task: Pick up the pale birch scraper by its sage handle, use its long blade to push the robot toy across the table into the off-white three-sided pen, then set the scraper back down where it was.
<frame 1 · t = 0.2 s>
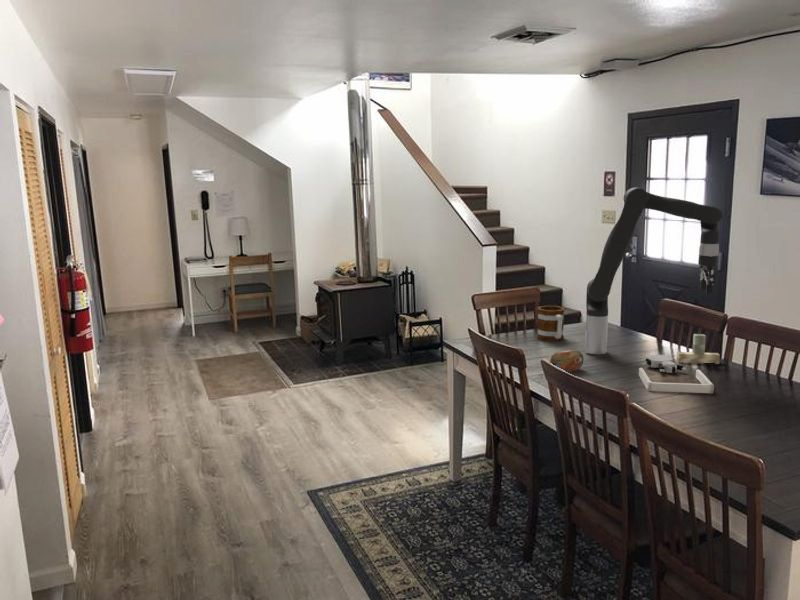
hand: (705, 291, 274), 28 cm above the table, tool pointing down, fingers open, 8 cm apart
robot toy: (663, 370, 260), on the table
scraper: (697, 362, 269), on the table
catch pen: (673, 383, 243), on the table
brown rounded piece: (566, 371, 262), on the table
mug: (552, 340, 311), on the table
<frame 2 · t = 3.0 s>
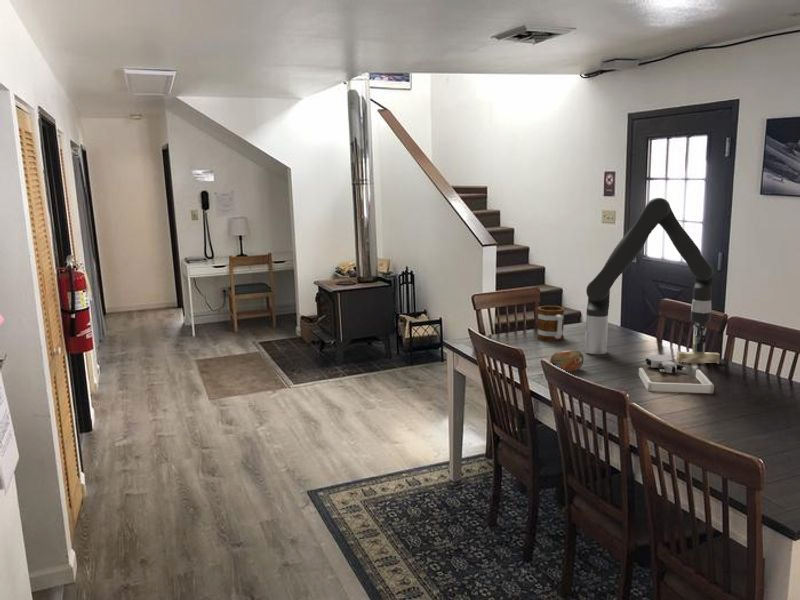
hand: (698, 350, 268), 5 cm above the table, tool pointing down, fingers closed on scraper, 3 cm apart
scraper: (697, 362, 269), on the table, touching gripper
everything else where it was.
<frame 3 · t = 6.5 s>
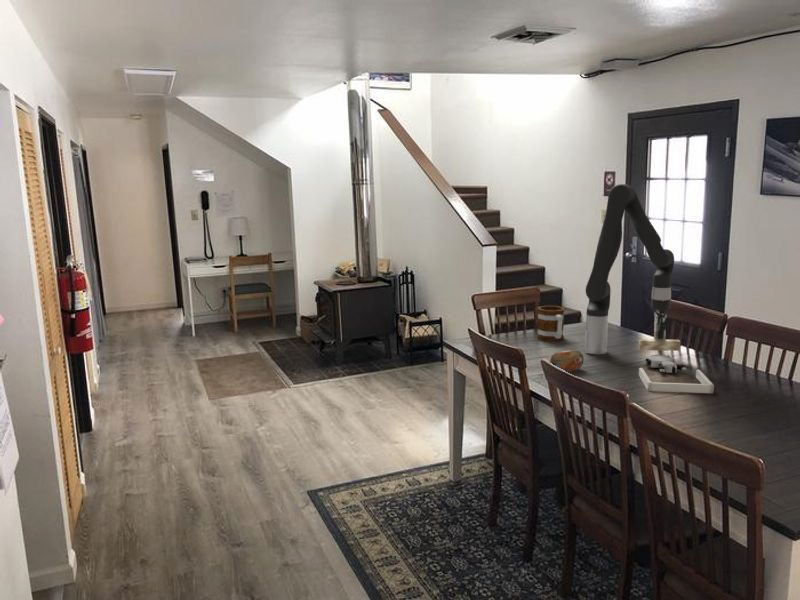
hand: (659, 337, 269), 10 cm above the table, tool pointing down, fingers closed on scraper, 3 cm apart
scraper: (659, 349, 270), point 5 cm above the table, touching gripper
everything else where it was.
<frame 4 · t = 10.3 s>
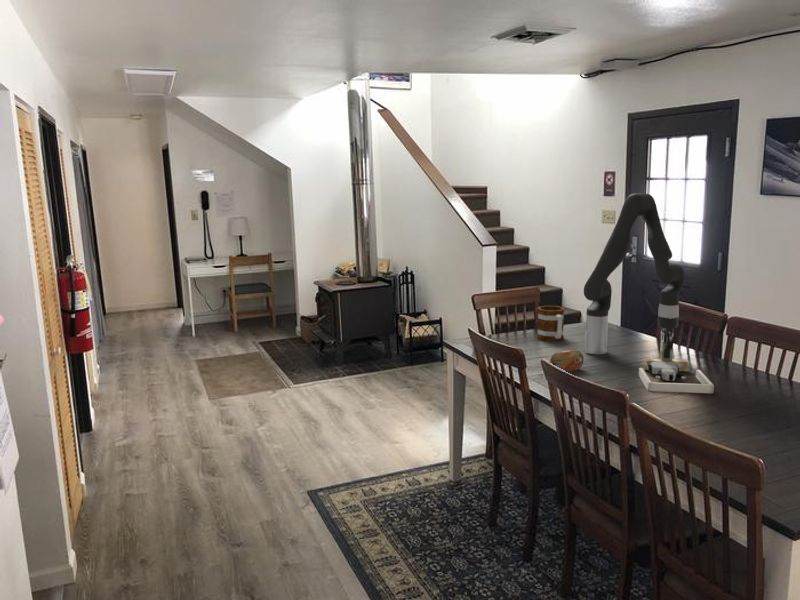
hand: (665, 356, 257), 6 cm above the table, tool pointing down, fingers closed on scraper, 3 cm apart
robot toy: (665, 377, 250), on the table
scraper: (665, 369, 259), on the table, touching gripper
everything else where it was.
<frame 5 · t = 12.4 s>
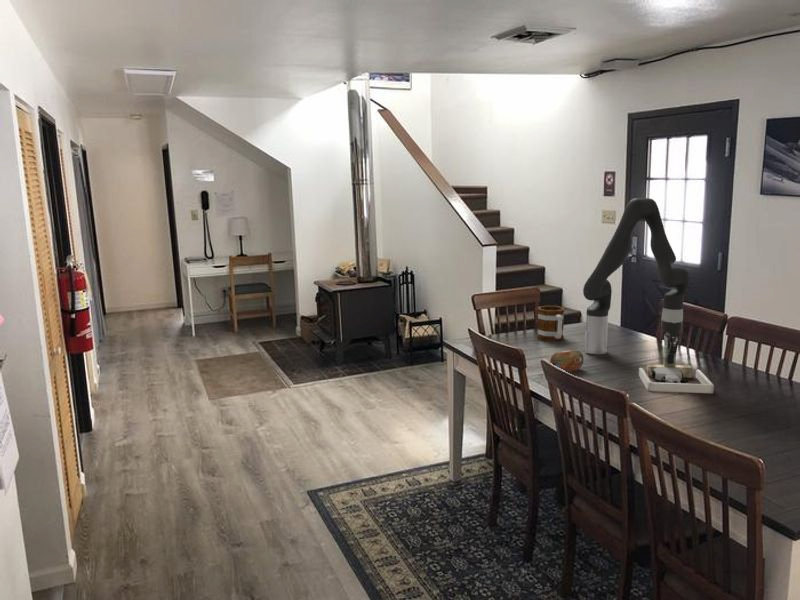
hand: (669, 361, 250), 6 cm above the table, tool pointing down, fingers closed on scraper, 3 cm apart
robot toy: (669, 384, 243), on the table
scraper: (668, 375, 252), on the table, touching gripper
everything else where it was.
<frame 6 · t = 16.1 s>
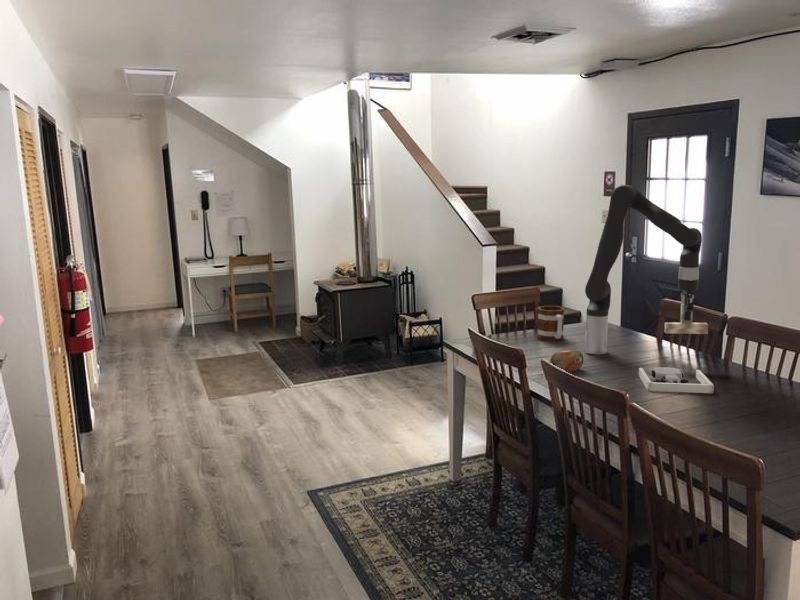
hand: (686, 319, 262), 20 cm above the table, tool pointing down, fingers closed on scraper, 3 cm apart
scraper: (685, 332, 263), point 14 cm above the table, touching gripper
everything else where it was.
when the fingers open (7 cm above the table, at t = 19.3 s): scraper drops 1 cm, on the table.
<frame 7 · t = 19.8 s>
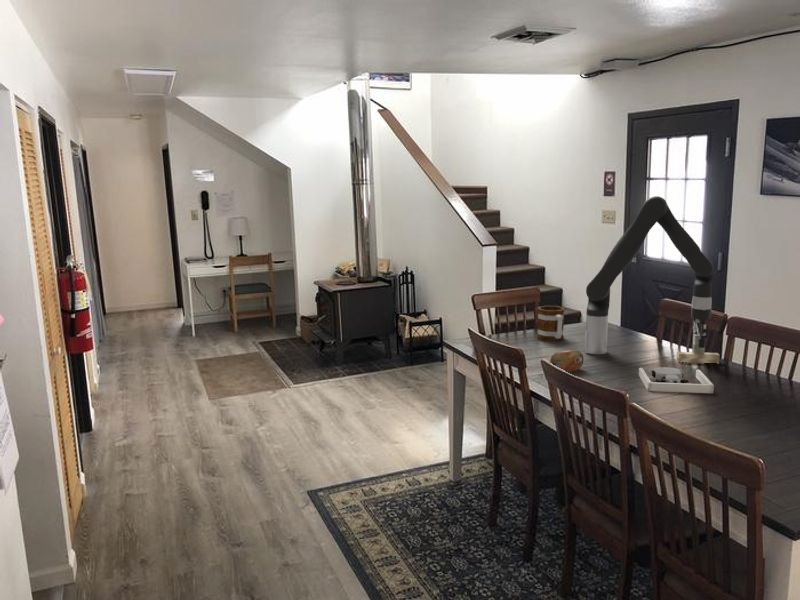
hand: (698, 345, 268), 7 cm above the table, tool pointing down, fingers open, 7 cm apart
scraper: (697, 362, 269), on the table
everything else where it was.
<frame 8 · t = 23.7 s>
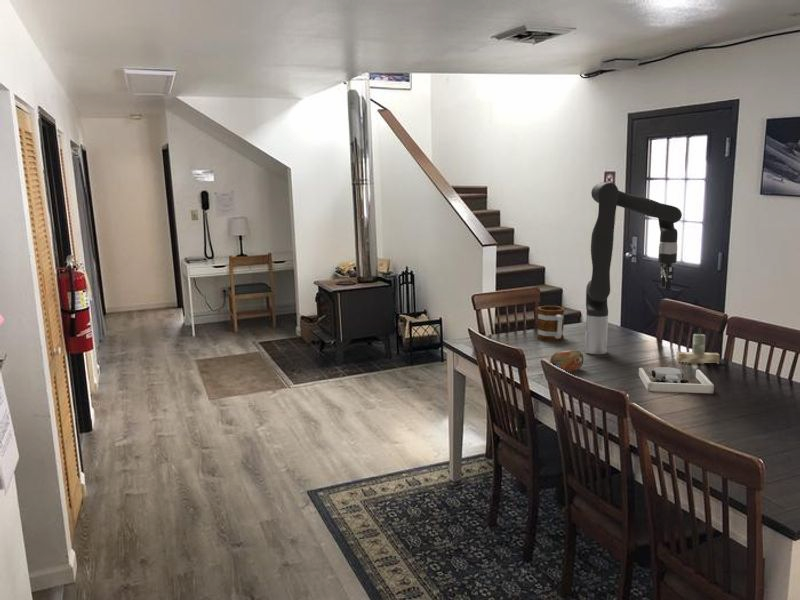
hand: (665, 288, 285), 28 cm above the table, tool pointing down, fingers open, 8 cm apart
nothing on the table moved.
at the end: robot toy inside the target area (1.6 cm from its centre), on the table; the gripper is holding nothing; scraper tilted 0° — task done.
